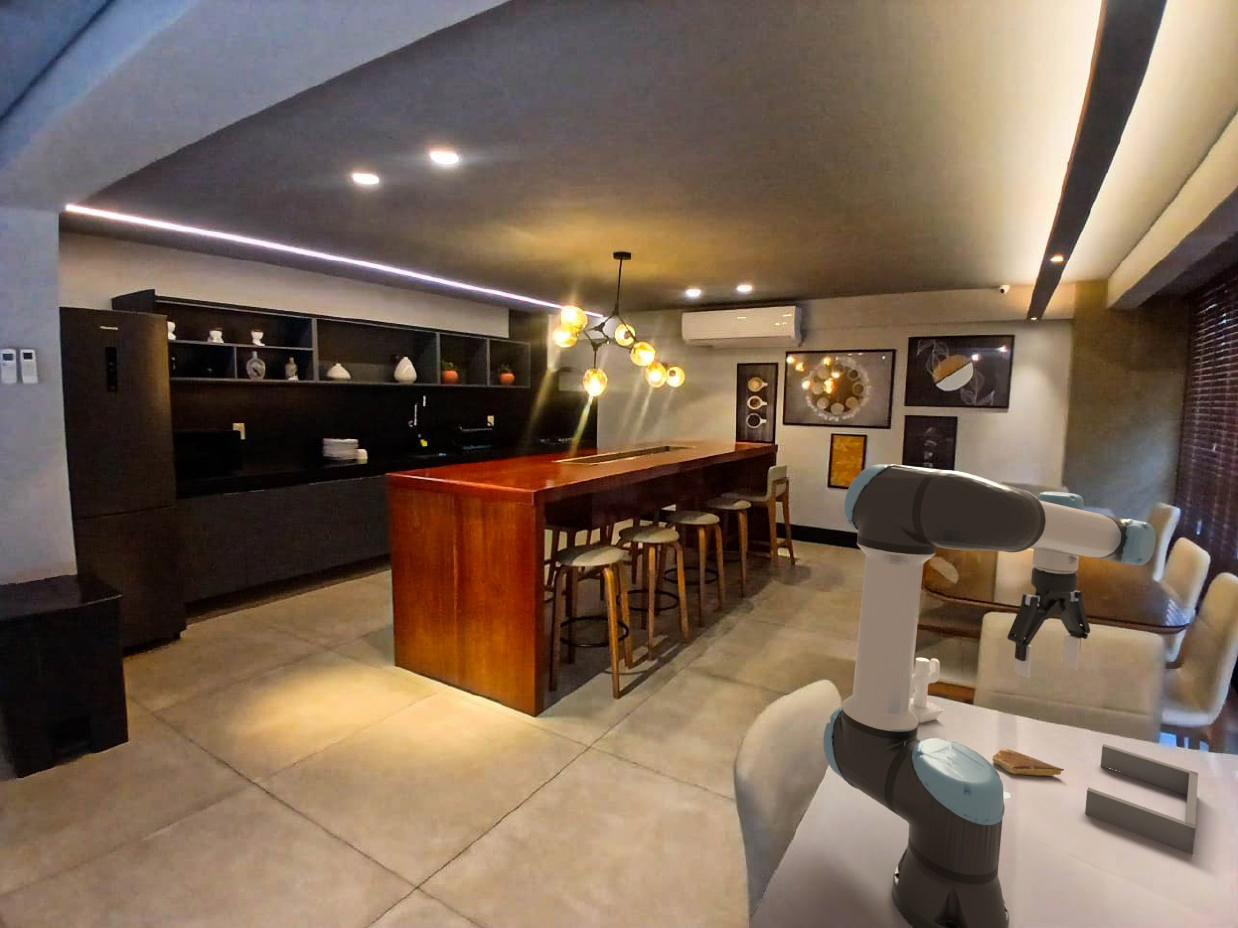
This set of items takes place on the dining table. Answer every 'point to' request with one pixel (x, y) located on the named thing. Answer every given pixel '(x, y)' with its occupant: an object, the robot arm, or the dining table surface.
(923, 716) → the figurine
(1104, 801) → the box
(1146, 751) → the dining table surface
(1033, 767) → the shard
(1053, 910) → the dining table surface
